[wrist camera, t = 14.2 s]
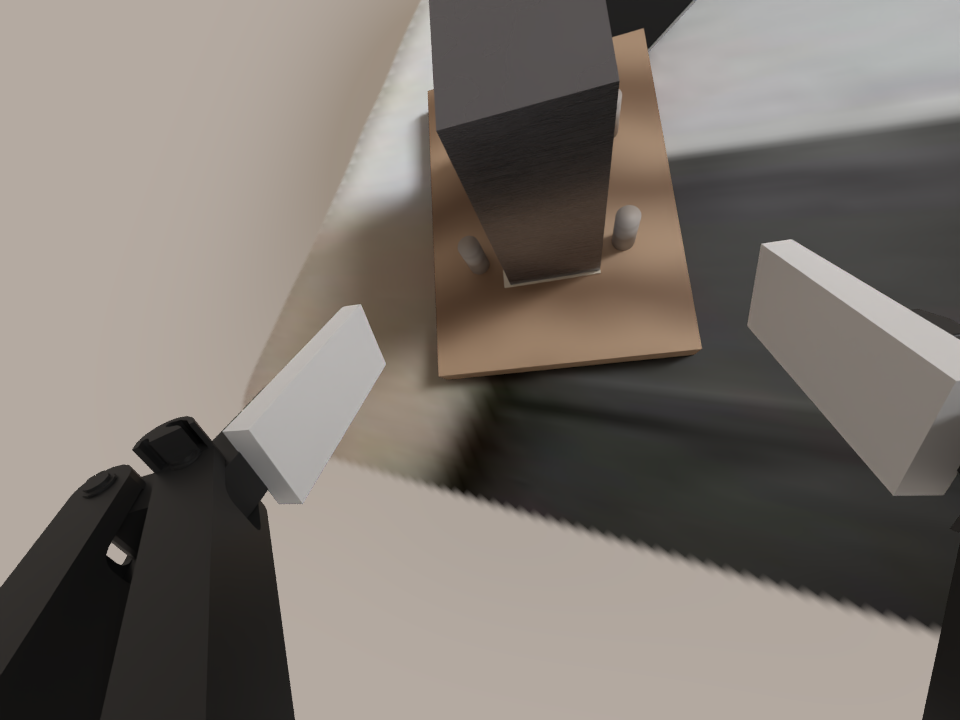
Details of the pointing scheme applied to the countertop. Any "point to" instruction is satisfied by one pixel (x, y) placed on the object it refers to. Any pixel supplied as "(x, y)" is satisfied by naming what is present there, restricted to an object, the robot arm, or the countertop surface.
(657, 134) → the dock
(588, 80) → the block
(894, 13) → the countertop surface
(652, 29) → the smartphone
